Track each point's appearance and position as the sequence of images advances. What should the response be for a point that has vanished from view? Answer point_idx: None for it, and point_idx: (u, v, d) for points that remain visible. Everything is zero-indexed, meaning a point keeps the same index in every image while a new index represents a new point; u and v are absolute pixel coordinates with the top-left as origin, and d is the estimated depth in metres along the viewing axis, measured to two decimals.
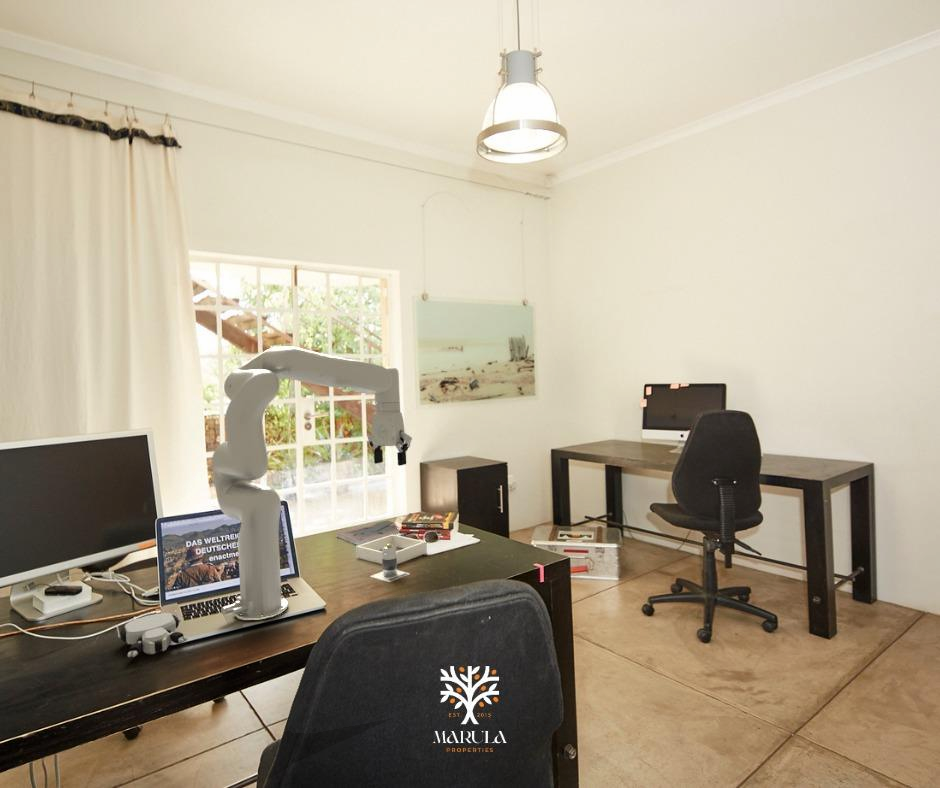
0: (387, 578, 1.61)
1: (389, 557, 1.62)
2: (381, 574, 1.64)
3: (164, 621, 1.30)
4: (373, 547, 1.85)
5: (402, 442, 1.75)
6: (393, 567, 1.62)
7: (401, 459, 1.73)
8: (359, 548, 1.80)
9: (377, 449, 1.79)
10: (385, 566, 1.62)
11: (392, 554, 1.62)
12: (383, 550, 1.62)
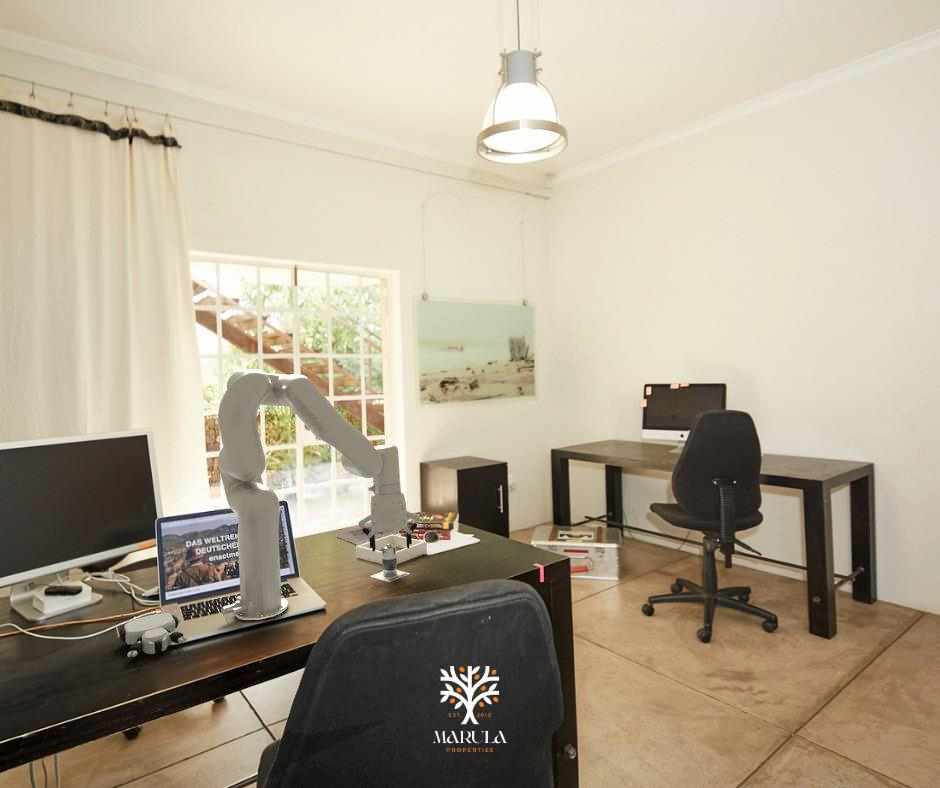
0: (387, 578, 1.61)
1: (389, 557, 1.62)
2: (381, 574, 1.64)
3: (163, 621, 1.30)
4: None
5: None
6: (393, 567, 1.62)
7: (410, 541, 1.63)
8: (359, 548, 1.80)
9: (373, 535, 1.63)
10: (385, 566, 1.62)
11: (392, 554, 1.62)
12: (383, 550, 1.62)
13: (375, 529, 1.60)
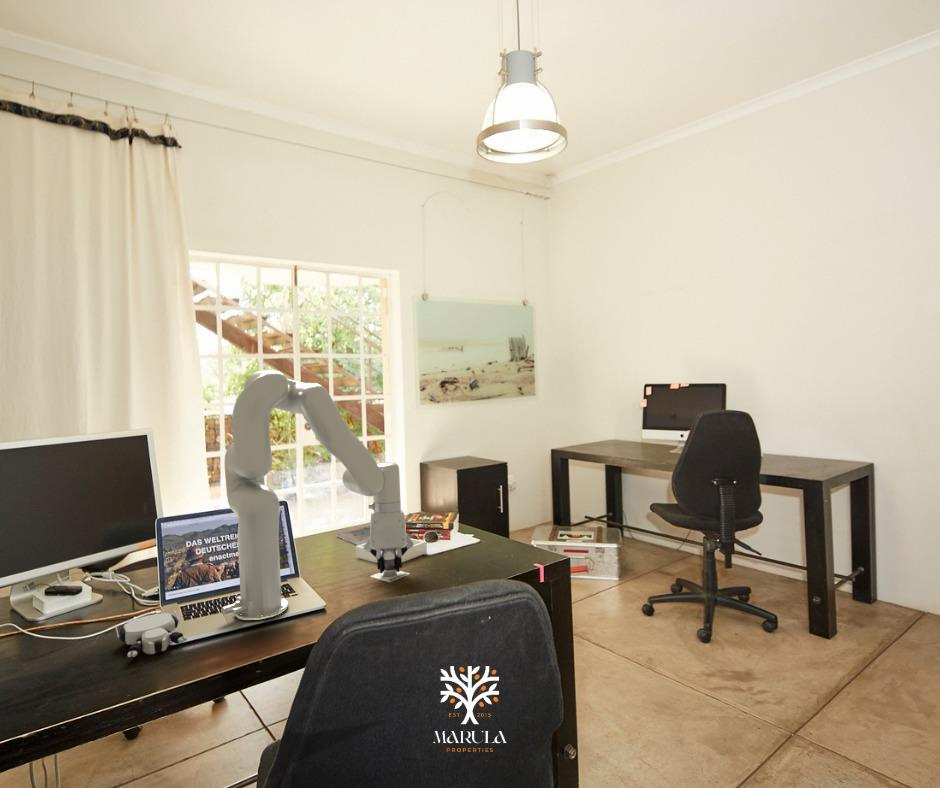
0: (387, 578, 1.61)
1: (389, 557, 1.62)
2: (381, 574, 1.64)
3: (163, 621, 1.30)
4: None
5: None
6: (393, 567, 1.62)
7: (400, 565, 1.63)
8: (359, 548, 1.80)
9: (381, 555, 1.63)
10: (385, 566, 1.62)
11: (392, 554, 1.62)
12: (383, 550, 1.62)
13: (374, 547, 1.60)
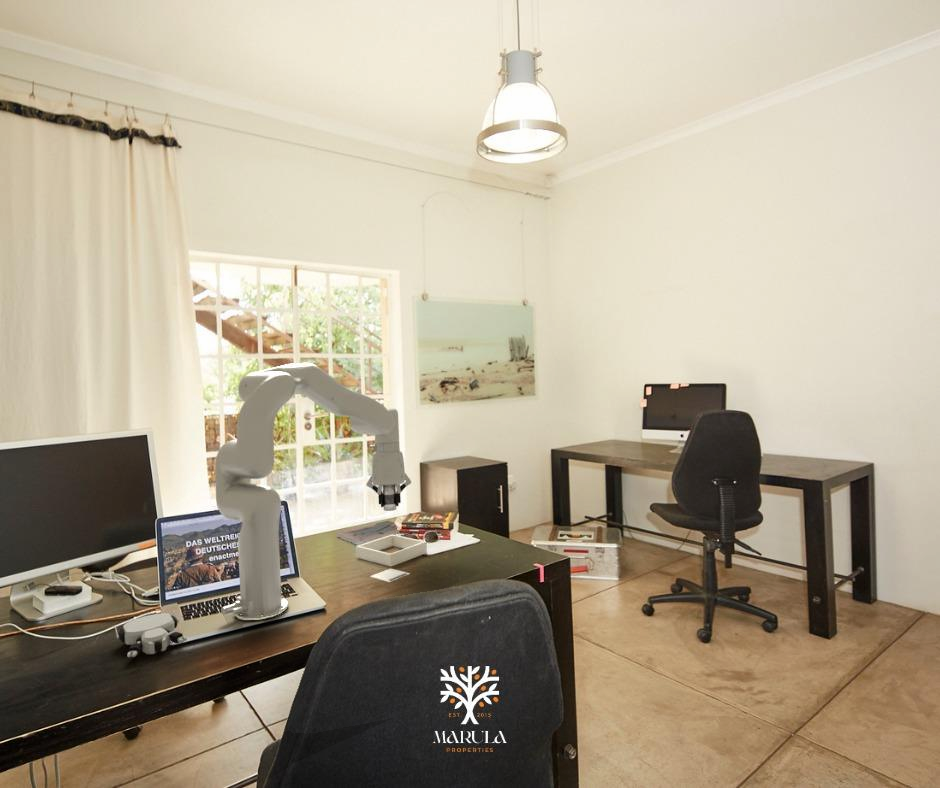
0: (387, 578, 1.61)
1: (389, 492, 1.79)
2: (381, 574, 1.64)
3: (162, 621, 1.30)
4: (373, 547, 1.85)
5: None
6: (393, 502, 1.80)
7: (399, 500, 1.81)
8: (359, 548, 1.80)
9: None
10: (386, 501, 1.79)
11: (392, 490, 1.80)
12: (384, 486, 1.80)
13: (376, 483, 1.78)
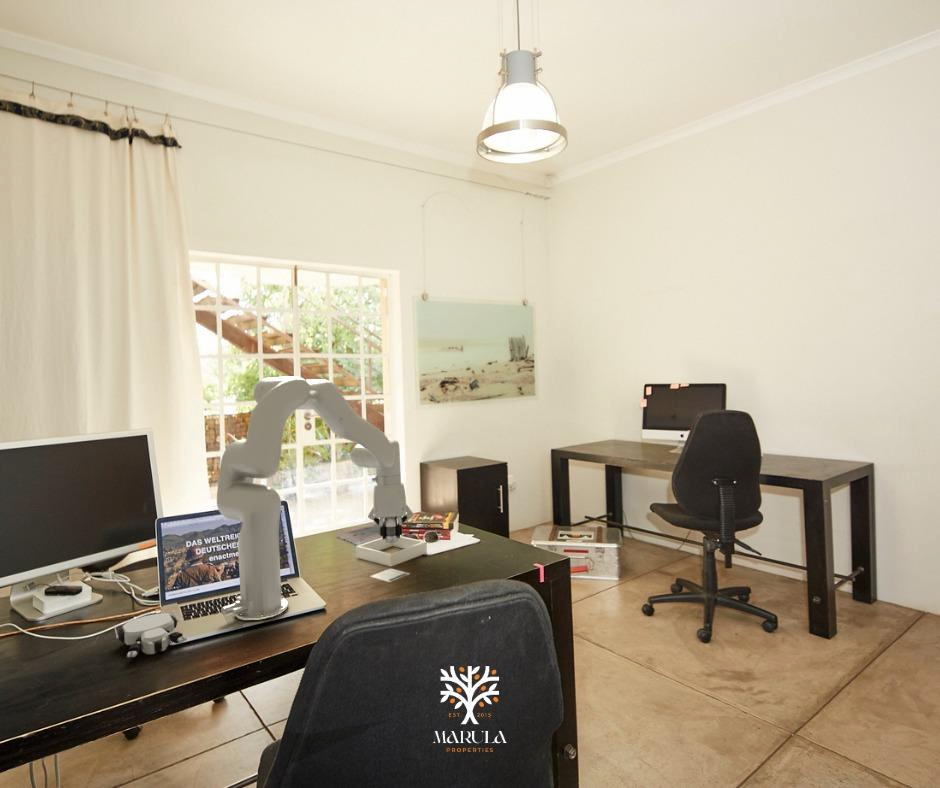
0: (387, 578, 1.61)
1: (391, 524, 1.80)
2: (381, 574, 1.64)
3: (162, 622, 1.30)
4: (373, 547, 1.85)
5: None
6: (394, 534, 1.80)
7: (400, 532, 1.81)
8: (359, 548, 1.80)
9: (383, 523, 1.81)
10: (387, 533, 1.80)
11: (394, 522, 1.80)
12: (385, 518, 1.80)
13: (377, 516, 1.78)
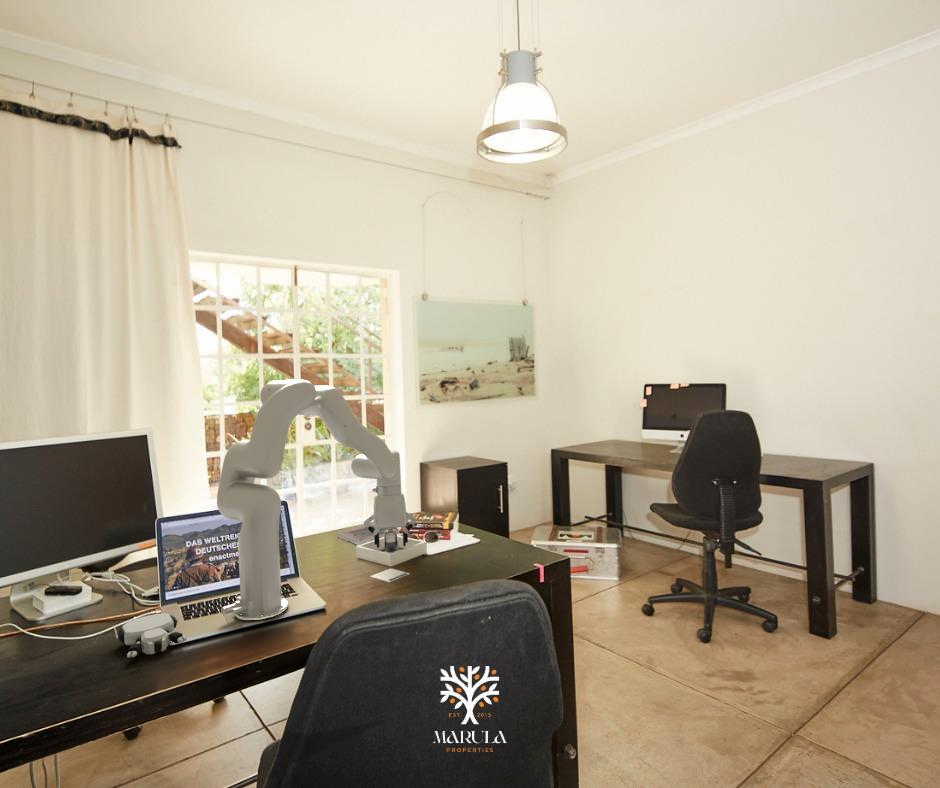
0: (387, 578, 1.61)
1: (391, 540, 1.80)
2: (381, 574, 1.64)
3: (162, 622, 1.30)
4: (373, 547, 1.85)
5: None
6: (394, 549, 1.80)
7: (406, 539, 1.81)
8: (359, 548, 1.80)
9: (378, 533, 1.81)
10: (387, 548, 1.80)
11: (394, 538, 1.80)
12: (385, 534, 1.80)
13: (377, 526, 1.78)
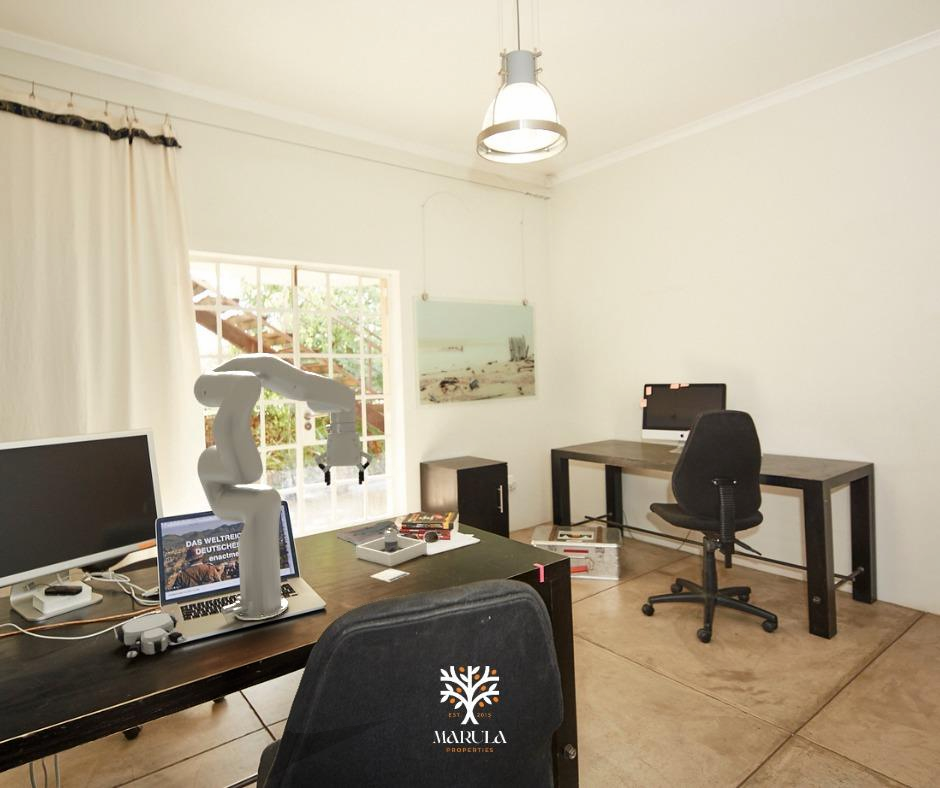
0: (387, 578, 1.61)
1: (391, 540, 1.80)
2: (381, 574, 1.64)
3: (161, 622, 1.30)
4: (373, 547, 1.85)
5: (359, 461, 1.77)
6: (394, 549, 1.80)
7: (362, 478, 1.76)
8: (359, 548, 1.80)
9: (328, 471, 1.75)
10: (387, 548, 1.80)
11: (394, 537, 1.80)
12: (385, 534, 1.80)
13: (329, 464, 1.73)
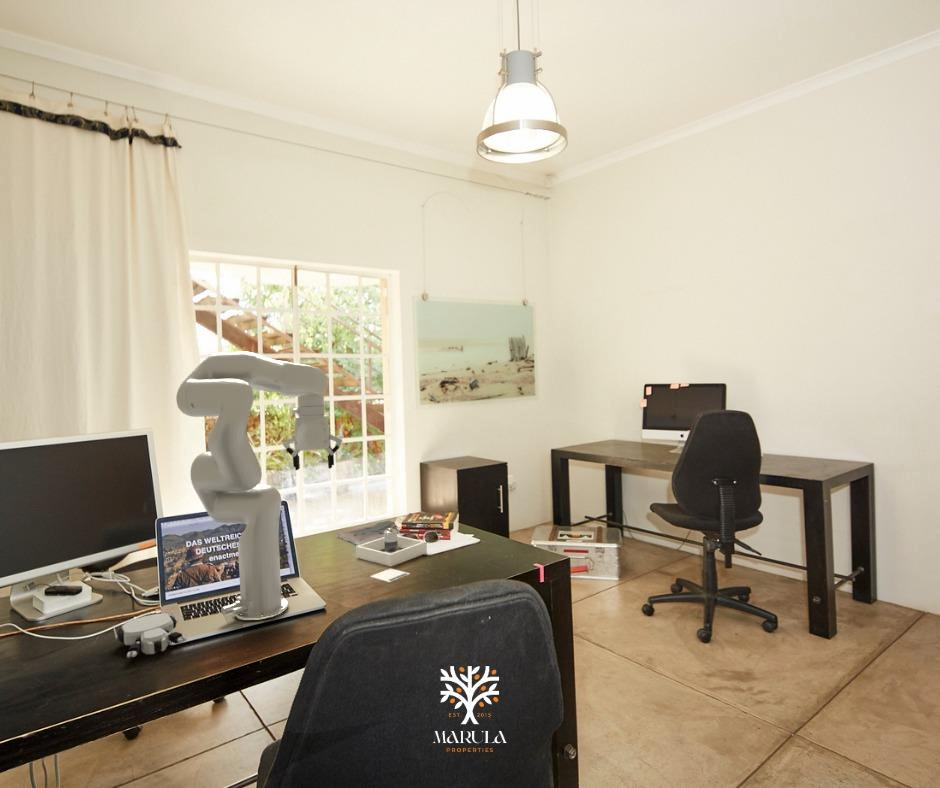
0: (387, 578, 1.61)
1: (391, 540, 1.80)
2: (381, 574, 1.64)
3: (161, 622, 1.30)
4: (373, 547, 1.85)
5: (329, 445, 1.75)
6: (394, 549, 1.80)
7: (331, 462, 1.73)
8: (359, 548, 1.80)
9: (297, 455, 1.73)
10: (387, 548, 1.80)
11: (394, 537, 1.80)
12: (385, 534, 1.80)
13: (298, 448, 1.70)
